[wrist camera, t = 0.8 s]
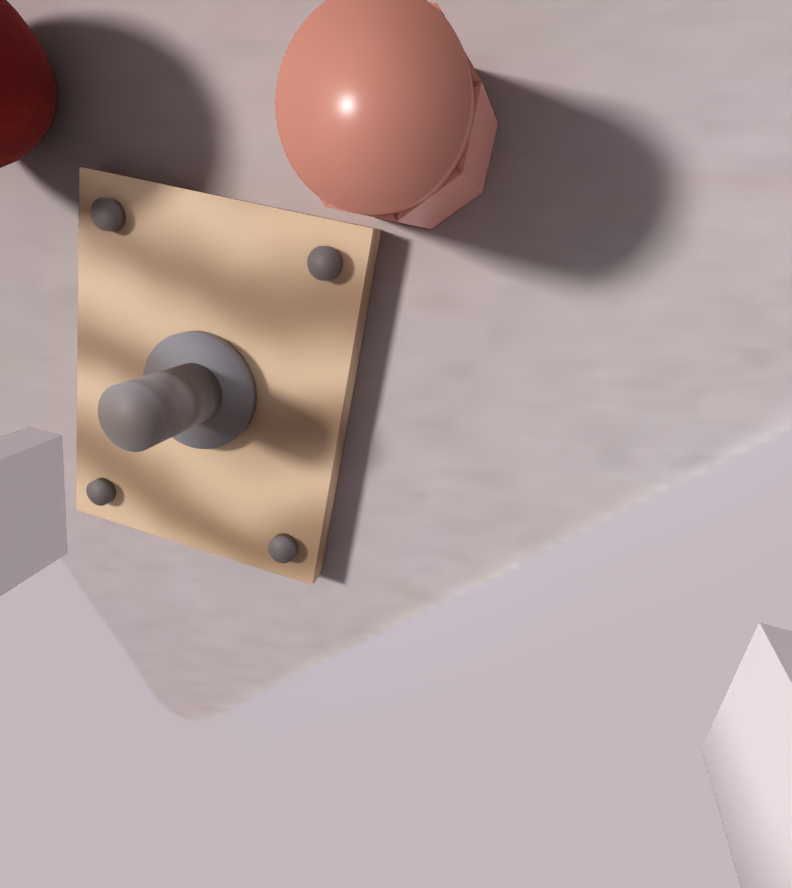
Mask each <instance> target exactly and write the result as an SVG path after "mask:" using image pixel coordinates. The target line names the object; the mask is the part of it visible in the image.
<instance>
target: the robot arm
mask: <svg viewBox="0 0 792 888" xmlns="http://www.w3.org/2000/svg"><path fill="white" fill-rule="evenodd" d="M65 554H67V531H66V509H65V487H64V465H63V443H62V435H59V434H55V433H52V432H48V431H44V430H40V429H37V428H33V427H27V428H25V429H22V430H19V431H16V432H13V433H10V434H8V435H5V436H2V437H0V596H1V595H3V594H4V593H6V592H7V591H9V590H10V589H12V588H14V587H15V586H17V585H18V584H20V583H21V582H23V581H24V580H26V579H28V578H29V577H31V576H32V575H34V574H36V573H37V572H39V571H40V570H42V569H43V568H45V567H46V566H48V565H50V564H51V563H53V562H54V561H56V560H57V559H59V558H61V557H62V556H64V555H65ZM701 750H702V754H703V757H704V760H705V764H706V767H707V771H708V774H709V778H710V782H711V785H712V788H713V792H714V796H715V799H716V803H717V806H718V810H719V813H720V817H721V820H722V824H723V827H724V831H725V834H726V837H727V841H728V844H729V848H730V852H731V855H732V859H733V862H734V865H735V869H736V873H737V876H738V880H739V883H740V886H741V888H792V631H789V630H784V629H781V628H777V627H773V626H770V625H766V624H762V623H759V625H758V627H757V629H756V631H755V634H754V636H753V638H752V640H751V642H750V644H749V646H748V648H747V651H746V653H745V655H744V658H743V659H742V661H741V664H740V666H739V668H738V670H737V673H736V675H735V677H734V679H733V681H732V683H731V685H730V688H729V690H728V692H727V694H726V696H725V698H724V700H723V703H722V705H721V707H720V709H719V711H718V713H717V716H716V718H715V720H714V722H713V724H712V726H711V729H710V731H709V733H708V735H707V737H706V739H705V742H704V744H703V746H702V748H701Z"/></svg>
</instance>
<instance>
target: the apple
mask: <svg viewBox="0 0 792 888" xmlns="http://www.w3.org/2000/svg"><path fill="white" fill-rule="evenodd" d="M56 101H57V93H56V83H55V78H54V74H53V71H52V68H51V65H50V63H49V60H48V58H47V56H46V54H45V52H44V50H43V48H42V46H41V44H40V43H39V41H38V39H37V37H36V36H35V34H34V33H33V32H32V30H31V29H30V28H29V26H28V25H27V24H26V22H25V21H24V20H23V19H22V17H21V16H20V15H19V13H18V12H17V11H16V10H15V9H14V8H13V7H12V6H11V4H10V3H9V2H8V1H7V0H0V168H1V167H3V166H6V165H8V164H11V163H13V162H15V161H18V160H19V159H20V158H22V157H23V156H24V155H26V154H27V153H28V152H30V151H31V150H32V149H33V148H35V147H36V146H37V144H38V143H39V142H40V141H41V139H42V138H43V137H44V135H45V134H46V133H47V131H48V130H49V128H50V126H51V124H52V122H53V118H54V114H55V111H56Z"/></svg>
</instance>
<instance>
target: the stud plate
mask: <svg viewBox="0 0 792 888" xmlns="http://www.w3.org/2000/svg"><path fill="white" fill-rule="evenodd" d="M380 236H381V230H380V229H375V228H370V227H365V226H361V225H356V224H351V223H346V222H342V221H337V220H332V219H327V218H323V217H318V216H313V215H308V214H304V213H299V212H294V211H289V210H285V209H280V208H275V207H270V206H266V205H261V204H256V203H251V202H247V201H242V200H237V199H232V198H227V197H223V196H218V195H213V194H208V193H204V192H199V191H194V190H189V189H185V188H180V187H175V186H170V185H166V184H161V183H156V182H151V181H147V180H142V179H137V178H132V177H128V176H123V175H118V174H113V173H109V172H104V171H99V170H94V169H88V168H83V167H79V254H78V362H77V471H76V510H79V511H82V512H85V513H88V514H91V515H94V516H97V517H100V518H104V519H107V520H110V521H113V522H116V523H119V524H122V525H126V526H129V527H132V528H135V529H138V530H141V531H144V532H147V533H151V534H154V535H157V536H160V537H163V538H166V539H169V540H172V541H176V542H179V543H182V544H185V545H188V546H191V547H194V548H197V549H201V550H204V551H207V552H210V553H213V554H216V555H219V556H223V557H226V558H229V559H232V560H235V561H238V562H241V563H244V564H248V565H251V566H254V567H257V568H260V569H263V570H266V571H269V572H273V573H276V574H279V575H282V576H285V577H288V578H291V579H294V580H298V581H301V582H304V583H307V584H310V585H313V584H314V582H315V581H316V579H317V578H318V577H319V575H320V574H321V572H322V567H323V561H324V555H325V550H326V544H327V538H328V532H329V527H330V521H331V515H332V510H333V504H334V498H335V492H336V487H337V481H338V475H339V470H340V464H341V458H342V453H343V447H344V441H345V435H346V430H347V424H348V418H349V413H350V407H351V401H352V395H353V390H354V384H355V378H356V373H357V367H358V361H359V356H360V350H361V344H362V338H363V333H364V327H365V321H366V316H367V310H368V304H369V298H370V293H371V287H372V281H373V276H374V270H375V264H376V259H377V253H378V247H379V241H380Z"/></svg>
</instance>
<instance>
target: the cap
mask: <svg viewBox="0 0 792 888" xmlns="http://www.w3.org/2000/svg"><path fill="white" fill-rule="evenodd" d="M275 105H276V120H277V126H278V132H279V136H280V139H281V143H282V146H283V148H284V151H285V153H286V156H287V158H288V160H289V162H290V164H291V166H292V167H293V169H294V171H295V172H296V173H297V175H298V176H299V178H300V179H301V180H302V181H303V183H304V184H305V185H306V186H307V187H308V188H309V189H310V190H311V191H312V192H314V193H315V194H316V195H317V196H318V197H319V198H320V199H321V201H322V202H323V204H324V206H325V207H329V208H333V209H338V210H343V211H347V212H352V213H356V214H361V215H366V216H370V217H375V218H380V219H384V220H389V221H394V222H399V223H404V224H409V225H413V226H418V227H423V228H428V229H432V228H434V227H435V226H436V225H438V224H439V223H441V222H442V221H443V220H445V219H446V218H448V217H449V216H450V215H452V214H453V213H455V212H456V211H457V210H459V209H460V208H462V207H463V206H464V205H466V204H467V203H468V202H470V201H471V200H473V199H474V198H475V197H477V196H478V195H480V194H481V193H482V192H483V189H484V185H485V180H486V176H487V171H488V167H489V163H490V158H491V154H492V149H493V145H494V140H495V136H496V132H497V127H498V122H497V119H496V117H495V114H494V111H493V109H492V106H491V104H490V101H489V98H488V96H487V93H486V91H485V88H484V86H483V83H482V81H481V79H480V77H479V76H478V74H477V72H476V70H475V69H474V67H473V65H472V63H471V62H470V60H469V58H468V56H467V55H466V53H465V51H464V49H463V47H462V45H461V43H460V41H459V39H458V37H457V35H456V33H455V31H454V30H453V28H452V27H451V25H450V24H449V22H448V21H447V19H446V18H445V16H444V14H443V13H442V11H441V9H440V7H439V6H438V4H437V3H432V2H428V1H427V0H327V1H325V2H324V3H323V4H321V5H320V6H319V7H318V8H317V9H315V10H314V11H313V12H312V13H311V14H310V15H309V16H308V18H307V19H306V20H305V21H304V22H303V23H302V25H301V26H300V28H299V29H298V30H297V32H296V33H295V35H294V37H293V39H292V40H291V42H290V44H289V46H288V48H287V51H286V53H285V56H284V58H283V61H282V64H281V68H280V71H279V75H278V81H277V87H276V102H275Z"/></svg>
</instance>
